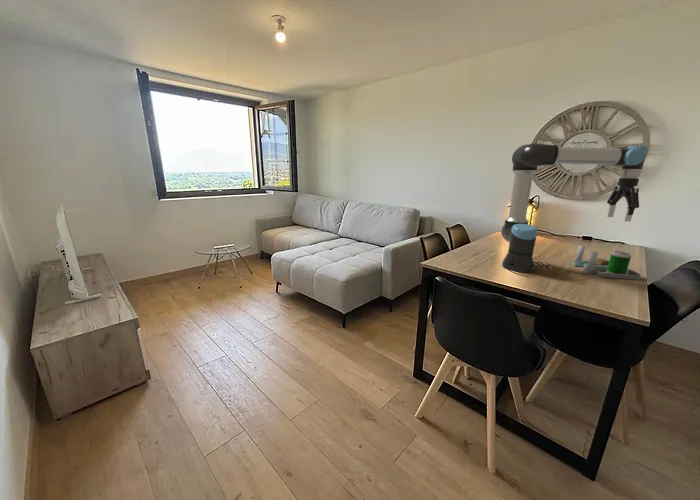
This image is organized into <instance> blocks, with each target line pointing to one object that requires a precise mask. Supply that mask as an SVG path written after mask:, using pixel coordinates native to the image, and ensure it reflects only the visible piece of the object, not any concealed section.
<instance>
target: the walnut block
mask: <svg viewBox="0 0 700 500" xmlns="http://www.w3.org/2000/svg"><path fill="white" fill-rule="evenodd" d="M608 264H609V259H608V260H607V259H605V258H596V262H595V265H604V266H608Z"/></svg>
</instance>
